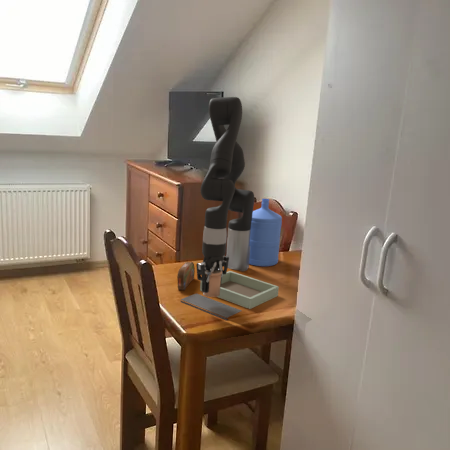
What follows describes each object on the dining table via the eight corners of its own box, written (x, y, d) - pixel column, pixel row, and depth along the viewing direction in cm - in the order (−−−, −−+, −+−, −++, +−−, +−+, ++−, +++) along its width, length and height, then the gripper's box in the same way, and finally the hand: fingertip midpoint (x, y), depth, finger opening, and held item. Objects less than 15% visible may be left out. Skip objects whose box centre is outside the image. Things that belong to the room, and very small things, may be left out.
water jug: (268, 269, 202) (274, 204, 196) (236, 261, 210) (240, 198, 203) (283, 261, 215) (289, 199, 209) (252, 253, 223) (257, 194, 216)
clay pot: (210, 289, 163) (211, 266, 161) (224, 294, 159) (226, 271, 157) (197, 293, 158) (199, 270, 156) (212, 299, 154) (213, 275, 152)
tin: (183, 294, 169) (184, 271, 167) (175, 293, 170) (176, 270, 168) (194, 280, 184) (196, 259, 182) (187, 279, 184) (188, 258, 182)
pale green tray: (229, 281, 185) (230, 270, 183) (277, 298, 171) (278, 286, 170) (199, 293, 171) (200, 281, 170) (249, 311, 158) (250, 299, 157)
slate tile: (196, 296, 169) (196, 293, 168) (241, 313, 157) (242, 310, 156) (180, 302, 162) (180, 299, 162) (226, 320, 150) (226, 317, 150)
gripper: (219, 234, 162) (216, 281, 166) (190, 241, 151) (188, 292, 155) (237, 239, 157) (233, 287, 161) (208, 246, 146) (205, 298, 150)
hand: (211, 289), depth 158 cm, fingers closed on clay pot, 5 cm apart
